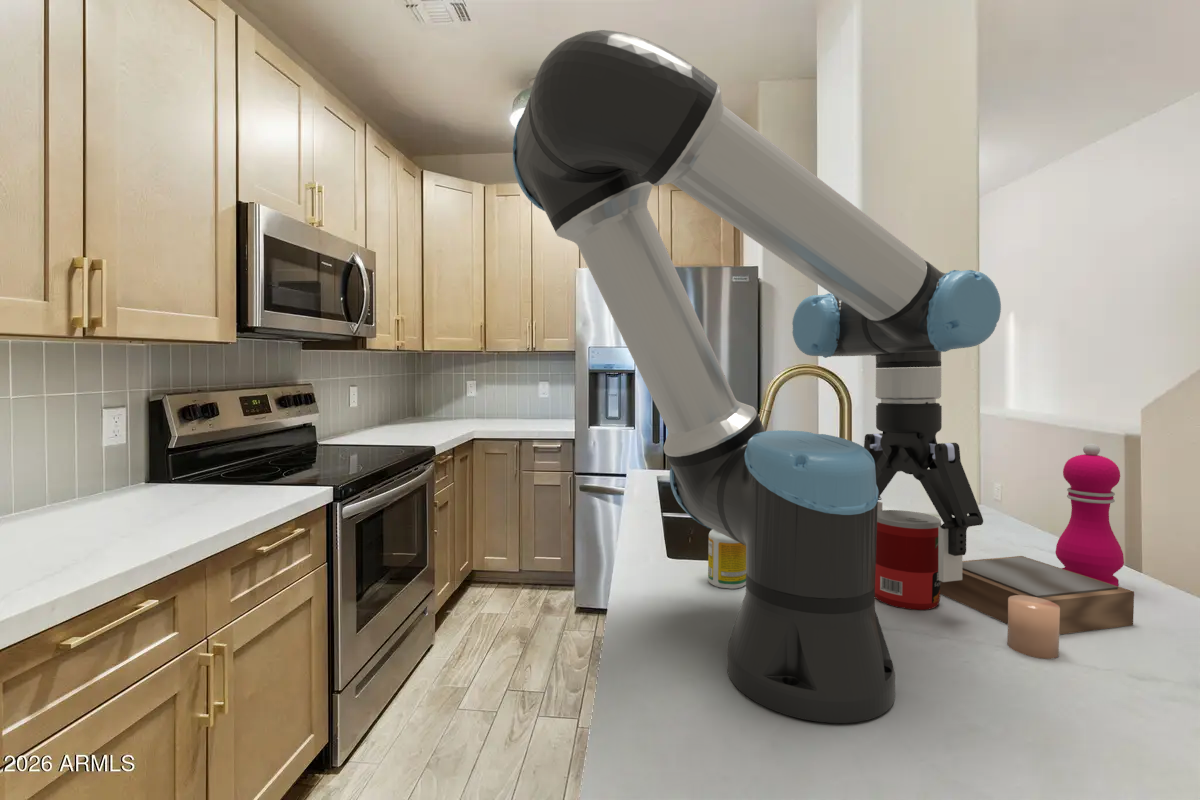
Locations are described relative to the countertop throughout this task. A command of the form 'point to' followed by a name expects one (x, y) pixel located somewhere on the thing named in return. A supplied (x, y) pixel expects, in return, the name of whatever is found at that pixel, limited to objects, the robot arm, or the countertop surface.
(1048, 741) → the countertop surface
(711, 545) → the supplement bottle
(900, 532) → the canned food
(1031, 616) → the peach pillar candle
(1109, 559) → the pepper mill
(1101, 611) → the wooden box
